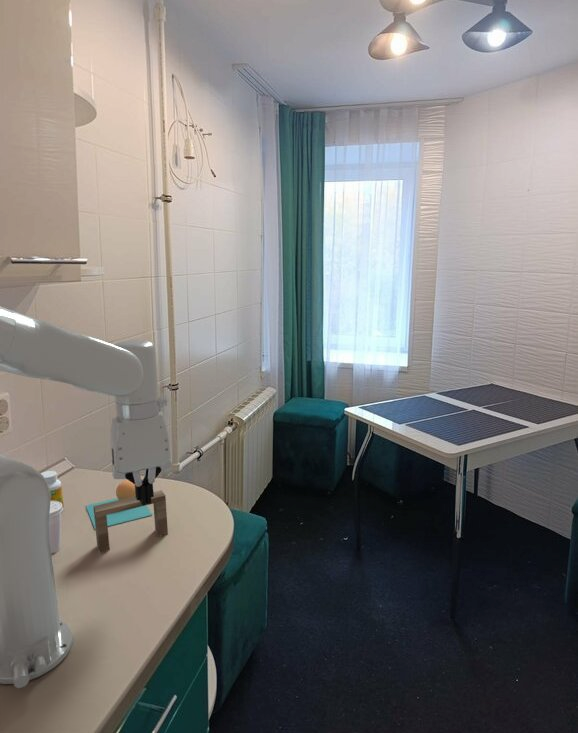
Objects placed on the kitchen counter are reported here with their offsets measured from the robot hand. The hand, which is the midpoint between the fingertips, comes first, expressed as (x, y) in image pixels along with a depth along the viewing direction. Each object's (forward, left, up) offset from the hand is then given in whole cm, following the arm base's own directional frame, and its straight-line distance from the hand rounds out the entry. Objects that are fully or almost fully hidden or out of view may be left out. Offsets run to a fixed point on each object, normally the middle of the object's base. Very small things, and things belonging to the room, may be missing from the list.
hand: (145, 501), depth 98 cm
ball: (+32, -3, -12) cm, 35 cm away
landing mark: (+29, 0, -15) cm, 33 cm away
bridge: (+14, 0, -15) cm, 21 cm away
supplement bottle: (+37, +14, -15) cm, 42 cm away
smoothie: (+19, +16, -15) cm, 29 cm away
